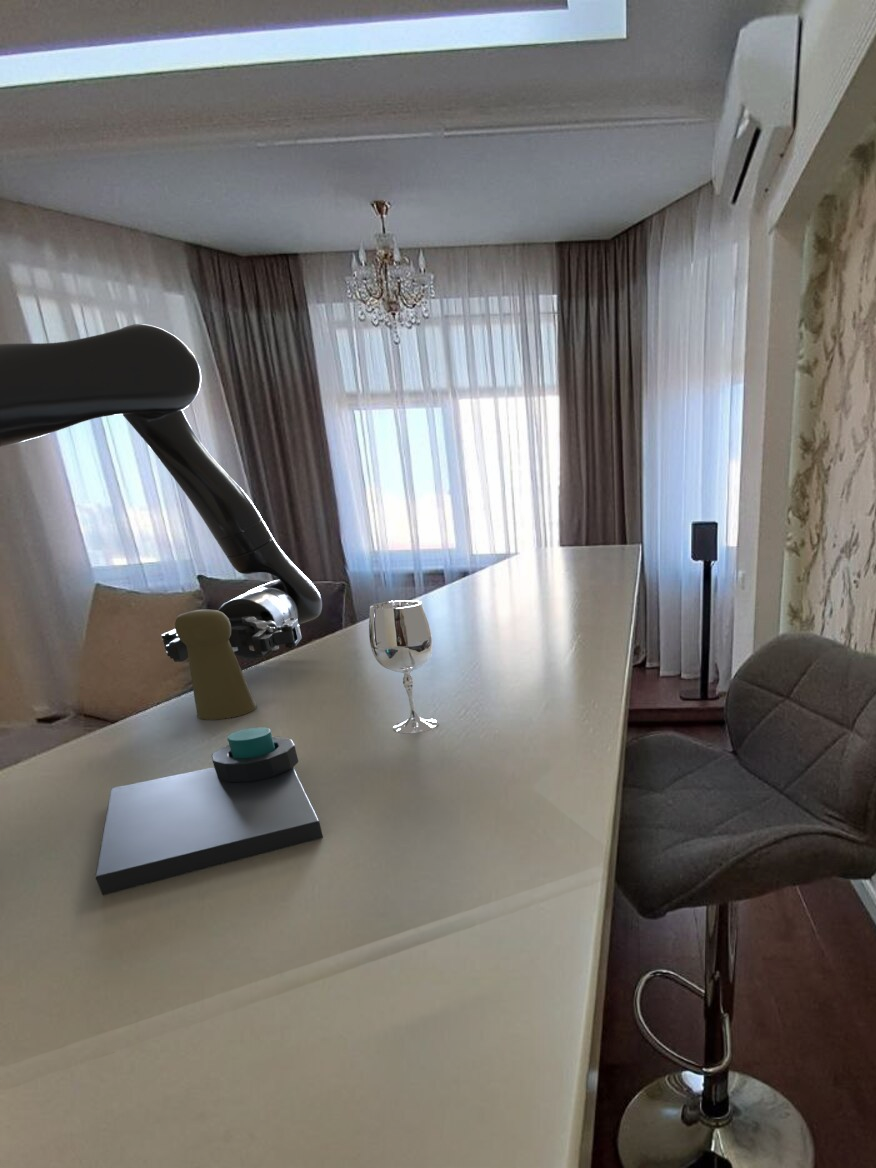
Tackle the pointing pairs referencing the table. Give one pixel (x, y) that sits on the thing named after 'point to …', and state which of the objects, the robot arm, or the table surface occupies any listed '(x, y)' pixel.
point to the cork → (213, 665)
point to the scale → (204, 818)
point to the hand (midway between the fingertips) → (216, 649)
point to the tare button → (251, 742)
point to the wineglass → (402, 649)
